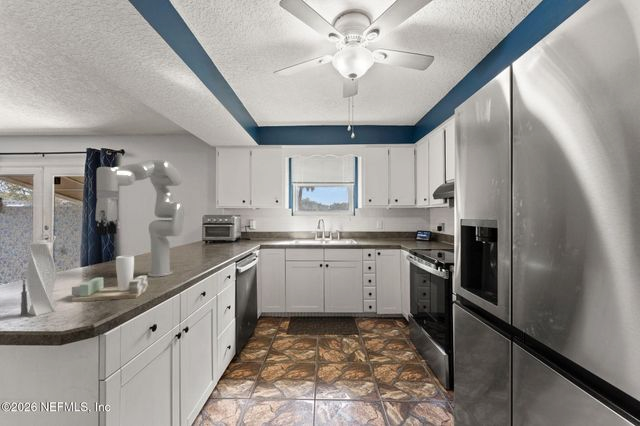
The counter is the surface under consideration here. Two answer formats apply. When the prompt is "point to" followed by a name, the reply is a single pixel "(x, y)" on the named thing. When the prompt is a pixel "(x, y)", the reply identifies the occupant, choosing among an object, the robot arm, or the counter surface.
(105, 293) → the vise
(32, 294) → the skyscraper
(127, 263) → the drinking glass
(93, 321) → the counter surface
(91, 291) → the sliding jaw
